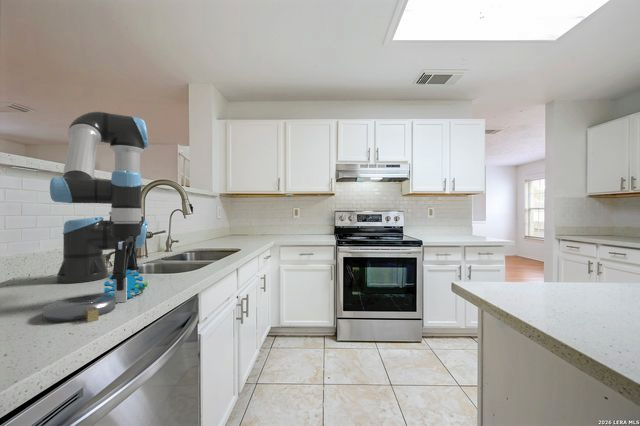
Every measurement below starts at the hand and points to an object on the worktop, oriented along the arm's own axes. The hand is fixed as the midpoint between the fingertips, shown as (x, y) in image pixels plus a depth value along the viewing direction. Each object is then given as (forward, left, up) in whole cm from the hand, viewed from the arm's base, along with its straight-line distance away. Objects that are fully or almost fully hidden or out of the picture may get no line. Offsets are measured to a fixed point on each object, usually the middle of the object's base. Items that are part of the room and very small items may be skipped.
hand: (126, 296), depth 87 cm
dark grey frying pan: (+13, -6, 0) cm, 15 cm away
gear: (0, 0, 0) cm, 1 cm away
